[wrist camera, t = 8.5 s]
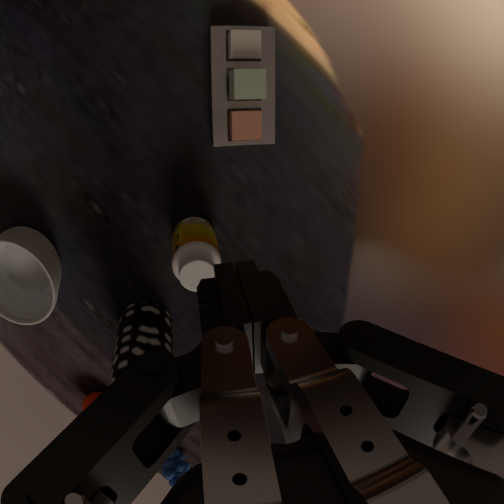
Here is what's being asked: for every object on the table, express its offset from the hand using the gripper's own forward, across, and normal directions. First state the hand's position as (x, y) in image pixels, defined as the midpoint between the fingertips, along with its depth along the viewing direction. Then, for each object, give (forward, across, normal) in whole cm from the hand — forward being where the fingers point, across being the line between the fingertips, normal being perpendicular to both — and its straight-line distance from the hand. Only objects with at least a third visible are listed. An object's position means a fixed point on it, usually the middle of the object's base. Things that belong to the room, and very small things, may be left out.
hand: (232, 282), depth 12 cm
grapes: (+29, +15, +67) cm, 75 cm away
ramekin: (+29, +26, +12) cm, 41 cm away
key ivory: (+28, -5, -12) cm, 31 cm away
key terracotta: (+28, -5, -3) cm, 29 cm away
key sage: (+26, -5, -8) cm, 28 cm away
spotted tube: (+29, +10, +25) cm, 40 cm away
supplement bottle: (+29, +1, +11) cm, 31 cm away
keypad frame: (+29, -5, -8) cm, 30 cm away
